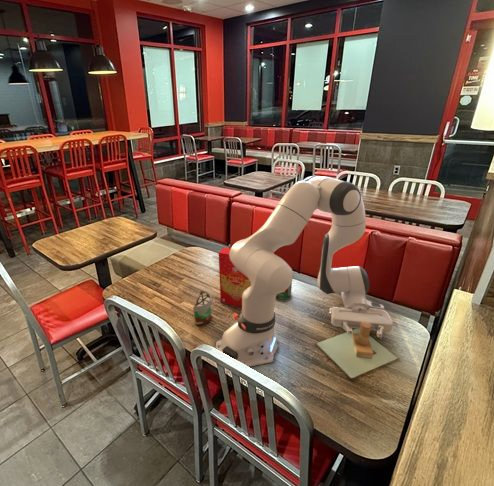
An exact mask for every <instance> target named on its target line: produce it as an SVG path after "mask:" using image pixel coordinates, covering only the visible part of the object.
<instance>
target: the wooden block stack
mask: <svg viewBox="0 0 494 486" xmlns="http://www.w3.org/2000/svg"><path fill="white" fill-rule="evenodd" d="M371 331H372V330H371V324H370V323H369V322H361V326H360V331H359V334H354V333H353V334H352V341H353V345H354V350H355V354H356V357H364V358H372V357H373V351H372V348H371V344H370V341H369V336H370V334H371Z"/></svg>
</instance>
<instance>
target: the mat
mask: <svg viewBox="0 0 494 486" xmlns="http://www.w3.org/2000/svg"><path fill="white" fill-rule="evenodd" d="M359 331H360V329H357V328H353V329H352V334H353V333H354V334H359ZM369 341H370V344H371V348H372V351H373V357H372V358H364V357H356V354H355V350H354V345H353V341H352V335H351V334H347V331H345V332H343V333H340V334H338V335H335V336H332V337H330V338H327V339H324V340H321V341H318V342H316V345H317V346H318V347H319V348H320V349H321V350H322V351H323V352H324V353H325V354H326V355H327V356H328V357H329V358H330V359H331V360H332V361H333V363H335V364H336V365H337V366H338V367H339V368H340V369H341V370H342V371H343V372H344V373H345V374H346V375H347V376H348V377H349V378H350V379H353V378H356V377H358V376H361V375H363V374H365V373H368V372H369V371H373V370H374V369H377V368H379V367H381V366H384V365H386V364H388V363H391V362H393V361H396V360H397V359H398V357H397V356H396V355H395V354H393V353H392V352H391V351H390V350H388V349H387V348H386V347H384V346H383V345H381V344H380V343H379V342H378V341H377V340H375V339H374V338H373V337H372V336H370V335H369Z"/></svg>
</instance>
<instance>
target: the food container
mask: <svg viewBox="0 0 494 486" xmlns="http://www.w3.org/2000/svg"><path fill="white" fill-rule="evenodd" d="M212 305H213V298H212V296H211V294H210V293H209V292H208V291H206V290H201V289H200V291H199V296H198V298H197V299H196V302H195V305H194V306H193V309H192V311H193V313H194V321H195V326H204V325H206V324H208V323H209V322H210V321H211V318H212V317H211V316H212V315H211V313H212Z"/></svg>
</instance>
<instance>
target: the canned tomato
mask: <svg viewBox="0 0 494 486" xmlns="http://www.w3.org/2000/svg"><path fill="white" fill-rule="evenodd" d="M292 284H293V281H292V282H291V284H290V286H289V287H288V288H287V289H286V290H285V291H283V292H281V293H279V294H277V295H276V298H275V301H276V300H277V301H279V302H287V301H289V300H291V299H292V289H293V288H292V286H293V285H292Z"/></svg>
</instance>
